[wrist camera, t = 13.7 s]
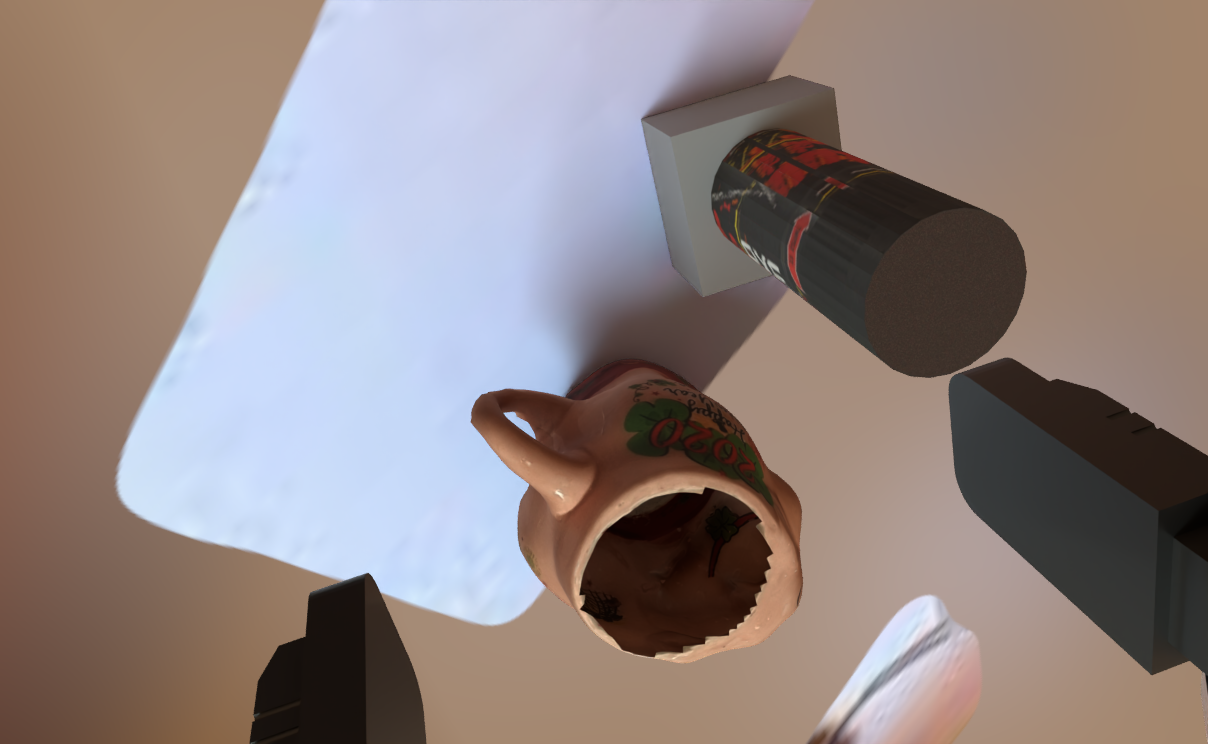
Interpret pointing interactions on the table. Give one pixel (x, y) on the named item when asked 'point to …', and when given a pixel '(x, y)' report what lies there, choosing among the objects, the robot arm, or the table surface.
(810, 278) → the deodorant
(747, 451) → the decorated ceramic mug
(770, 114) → the grey block
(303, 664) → the robot arm
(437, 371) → the table surface
